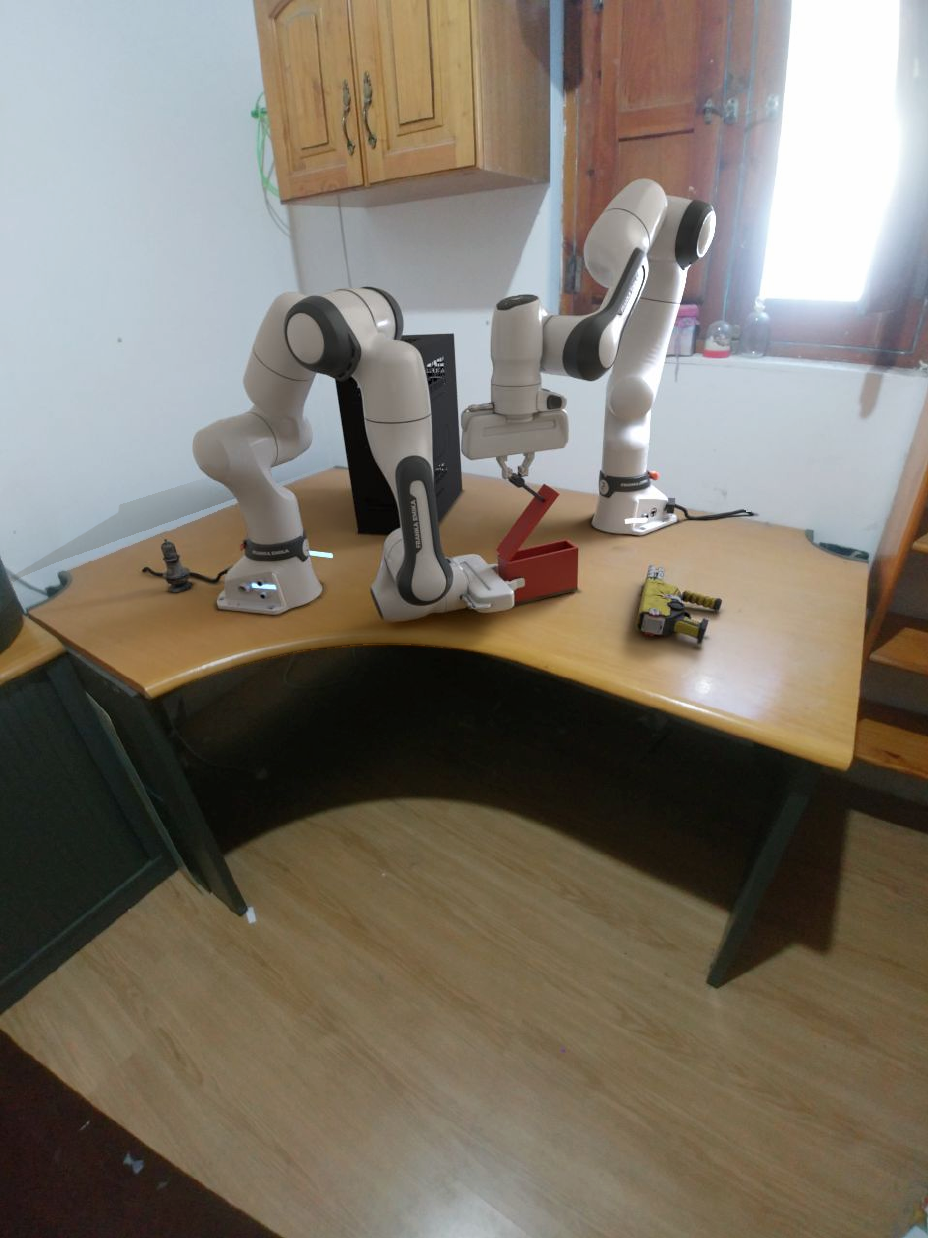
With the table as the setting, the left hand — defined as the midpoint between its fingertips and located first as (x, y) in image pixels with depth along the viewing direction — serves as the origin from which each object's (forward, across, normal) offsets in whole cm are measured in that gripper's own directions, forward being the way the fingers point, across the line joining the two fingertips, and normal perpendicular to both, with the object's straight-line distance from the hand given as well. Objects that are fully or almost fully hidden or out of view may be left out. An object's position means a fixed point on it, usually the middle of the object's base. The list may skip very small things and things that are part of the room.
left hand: (516, 574), depth 124 cm
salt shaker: (-68, +38, +6) cm, 78 cm away
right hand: (0, 0, -20) cm, 21 cm away
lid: (+3, 0, -11) cm, 11 cm away
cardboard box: (-5, +63, +6) cm, 63 cm away
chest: (+5, 0, +5) cm, 7 cm away
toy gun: (+26, -19, +6) cm, 33 cm away
